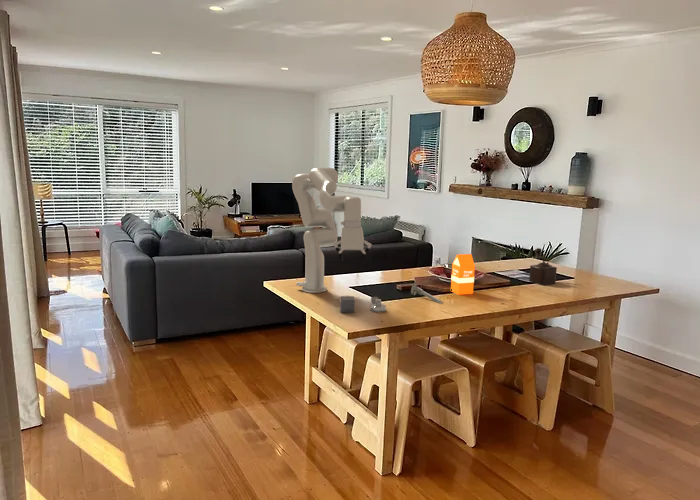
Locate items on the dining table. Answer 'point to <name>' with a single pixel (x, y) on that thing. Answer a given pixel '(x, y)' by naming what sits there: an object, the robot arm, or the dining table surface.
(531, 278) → the brown coffee grinder
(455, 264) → the orange juice
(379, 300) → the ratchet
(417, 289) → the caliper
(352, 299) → the grey stone cube
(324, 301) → the dining table surface
